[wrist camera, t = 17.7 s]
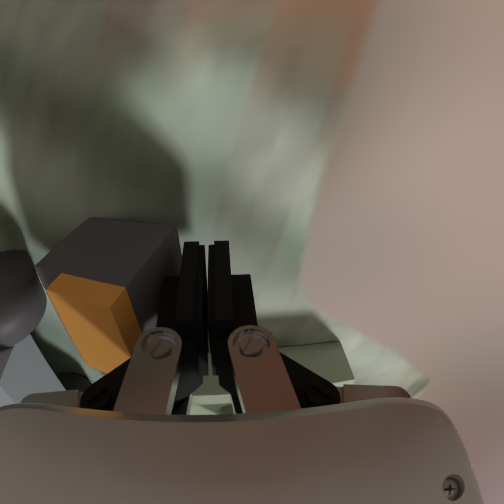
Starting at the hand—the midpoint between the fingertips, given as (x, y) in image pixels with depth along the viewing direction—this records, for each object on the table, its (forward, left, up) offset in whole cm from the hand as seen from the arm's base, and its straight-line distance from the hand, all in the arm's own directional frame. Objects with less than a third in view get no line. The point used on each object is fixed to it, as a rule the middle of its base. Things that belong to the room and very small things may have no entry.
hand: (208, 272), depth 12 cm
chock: (-3, 0, -1) cm, 3 cm away
